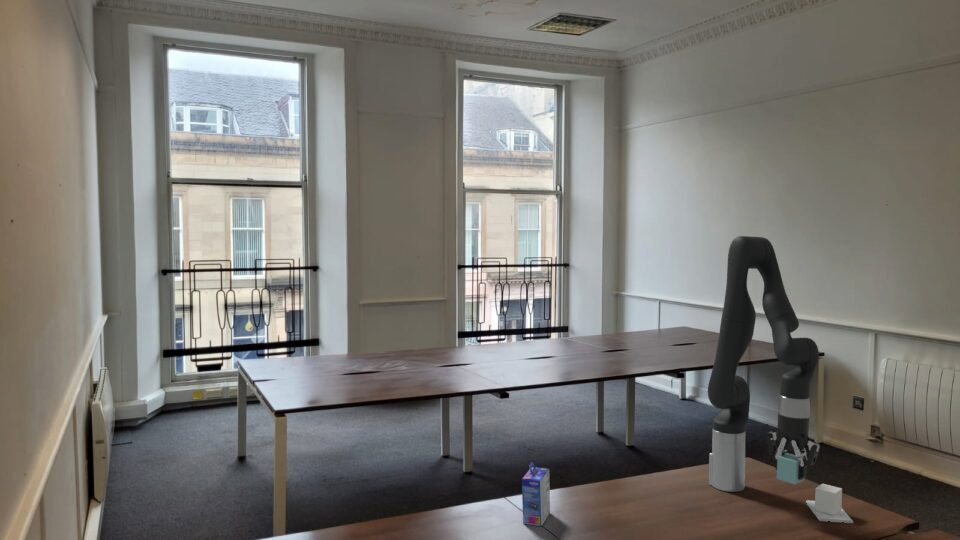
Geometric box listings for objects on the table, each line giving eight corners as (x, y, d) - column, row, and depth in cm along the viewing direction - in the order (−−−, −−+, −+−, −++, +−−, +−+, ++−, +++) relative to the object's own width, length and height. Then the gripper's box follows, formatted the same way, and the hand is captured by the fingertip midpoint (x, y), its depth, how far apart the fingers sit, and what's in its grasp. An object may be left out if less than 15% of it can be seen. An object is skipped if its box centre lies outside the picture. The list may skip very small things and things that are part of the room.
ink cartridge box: (530, 510, 185) (530, 457, 185) (550, 512, 184) (550, 459, 183) (521, 524, 176) (521, 469, 176) (541, 527, 174) (542, 471, 174)
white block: (814, 509, 183) (815, 488, 183) (821, 504, 186) (822, 483, 186) (834, 515, 179) (835, 493, 179) (841, 510, 183) (842, 488, 182)
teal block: (776, 478, 180) (777, 456, 180) (785, 474, 183) (786, 452, 183) (795, 484, 176) (796, 462, 176) (804, 480, 179) (805, 458, 179)
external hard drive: (837, 507, 189) (853, 526, 176) (805, 505, 190) (819, 523, 178) (837, 502, 188) (853, 520, 176) (806, 500, 190) (819, 517, 178)
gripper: (760, 409, 182) (757, 471, 183) (814, 421, 171) (811, 487, 172) (774, 404, 186) (771, 465, 188) (828, 416, 175) (824, 480, 177)
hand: (790, 475), depth 180 cm, fingers closed on teal block, 5 cm apart
